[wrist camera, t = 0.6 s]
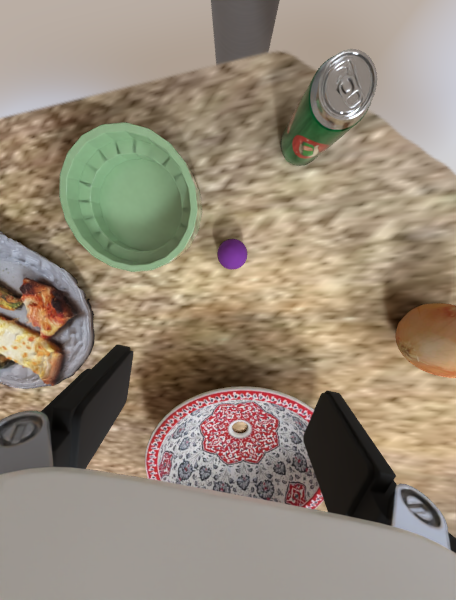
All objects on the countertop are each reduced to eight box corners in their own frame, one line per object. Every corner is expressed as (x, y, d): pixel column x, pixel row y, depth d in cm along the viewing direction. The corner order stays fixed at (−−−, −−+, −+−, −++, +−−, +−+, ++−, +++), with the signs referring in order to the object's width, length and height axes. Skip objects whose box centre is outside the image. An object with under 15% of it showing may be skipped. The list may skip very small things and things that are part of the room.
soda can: (306, 110, 27) (362, 22, 16) (328, 148, 28) (394, 92, 17) (271, 140, 28) (300, 78, 17) (294, 175, 29) (335, 141, 18)
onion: (370, 316, 35) (422, 348, 25) (434, 282, 33) (515, 303, 24) (393, 362, 37) (449, 408, 28) (453, 333, 36) (535, 370, 26)
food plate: (124, 298, 35) (113, 305, 31) (66, 401, 40) (51, 417, 37) (-42, 197, 31) (-76, 193, 27) (-81, 328, 36) (-113, 338, 33)
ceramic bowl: (336, 461, 44) (358, 510, 36) (198, 497, 47) (191, 549, 40) (294, 332, 36) (312, 360, 28) (132, 386, 39) (108, 425, 32)
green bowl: (90, 125, 28) (61, 104, 23) (213, 159, 29) (209, 145, 24) (83, 250, 32) (58, 254, 28) (190, 276, 33) (183, 284, 29)
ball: (221, 235, 32) (220, 236, 28) (249, 242, 32) (252, 243, 28) (215, 263, 33) (213, 267, 29) (242, 269, 33) (243, 274, 29)
